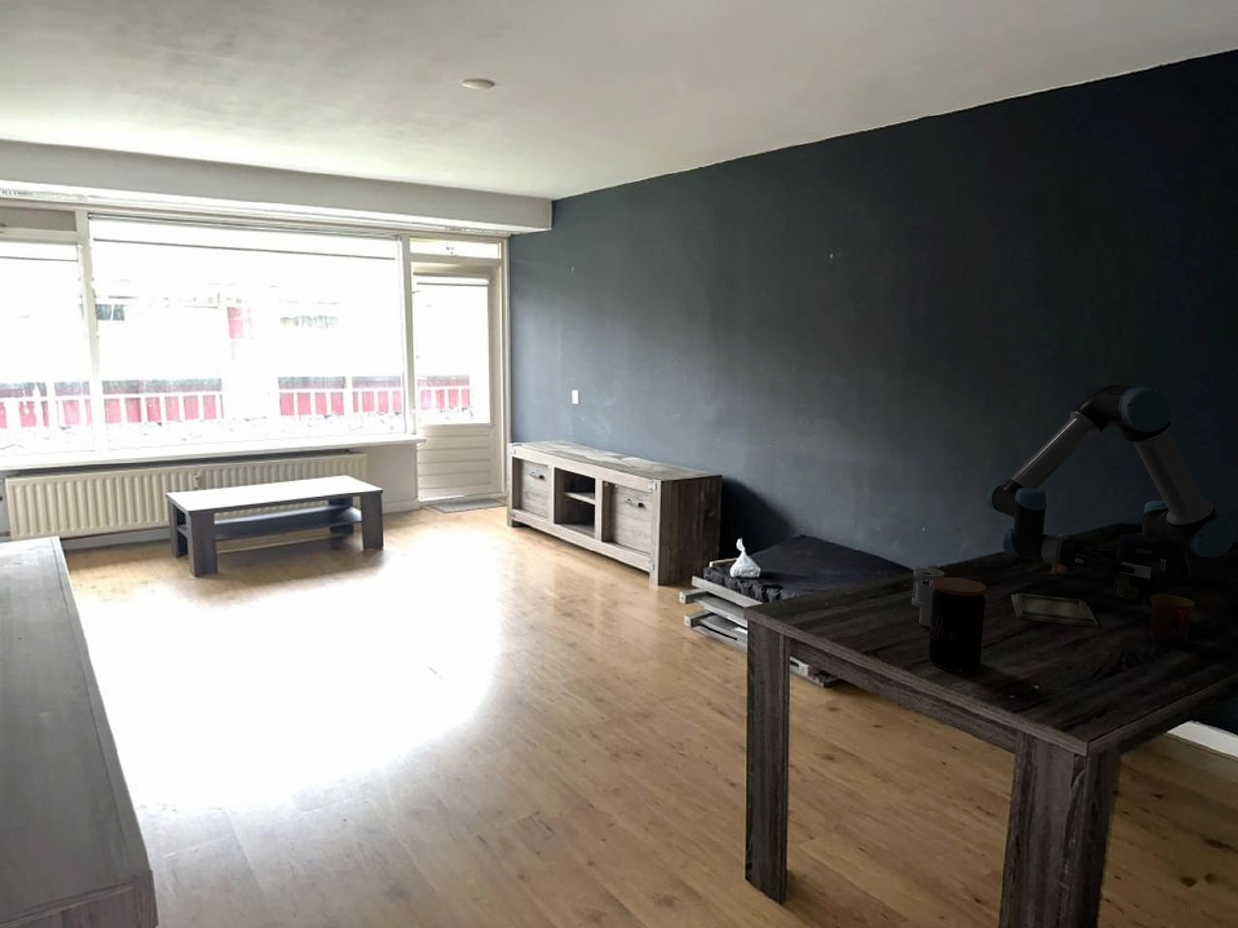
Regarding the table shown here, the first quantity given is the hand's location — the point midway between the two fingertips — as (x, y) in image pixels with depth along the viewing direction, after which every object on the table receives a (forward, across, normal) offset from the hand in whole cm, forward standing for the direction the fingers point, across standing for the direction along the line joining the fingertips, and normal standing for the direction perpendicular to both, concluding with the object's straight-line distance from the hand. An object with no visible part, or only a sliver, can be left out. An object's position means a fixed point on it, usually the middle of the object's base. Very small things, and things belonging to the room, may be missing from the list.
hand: (1157, 569), depth 204 cm
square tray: (-19, +12, -14) cm, 27 cm away
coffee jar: (-18, +64, -13) cm, 68 cm away
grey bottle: (-35, +47, -13) cm, 60 cm away
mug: (+8, +14, -14) cm, 21 cm away
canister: (-4, 0, -10) cm, 11 cm away
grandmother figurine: (-33, -26, -14) cm, 45 cm away
